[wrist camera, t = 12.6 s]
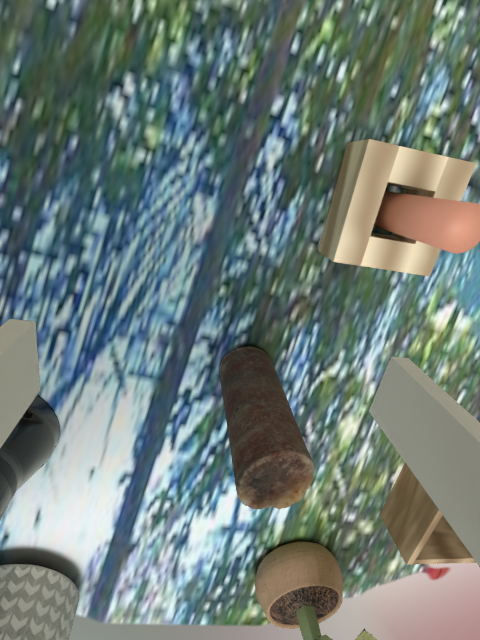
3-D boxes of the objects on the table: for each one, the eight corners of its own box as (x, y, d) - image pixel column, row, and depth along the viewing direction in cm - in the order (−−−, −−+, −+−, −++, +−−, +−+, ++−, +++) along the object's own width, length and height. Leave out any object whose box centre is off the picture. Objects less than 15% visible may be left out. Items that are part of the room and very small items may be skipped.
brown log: (234, 332, 44) (262, 447, 26) (281, 352, 46) (336, 470, 28) (209, 377, 47) (219, 510, 29) (255, 393, 49) (290, 527, 31)
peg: (358, 223, 40) (433, 249, 28) (369, 188, 39) (453, 198, 26) (388, 228, 41) (474, 256, 28) (399, 194, 39) (496, 207, 27)
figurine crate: (379, 514, 64) (406, 564, 56) (418, 437, 57) (455, 482, 49) (448, 514, 67) (483, 562, 59) (494, 441, 60) (541, 484, 52)
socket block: (318, 251, 41) (333, 261, 36) (347, 142, 36) (369, 139, 32) (404, 264, 43) (429, 276, 39) (443, 163, 38) (476, 163, 34)
